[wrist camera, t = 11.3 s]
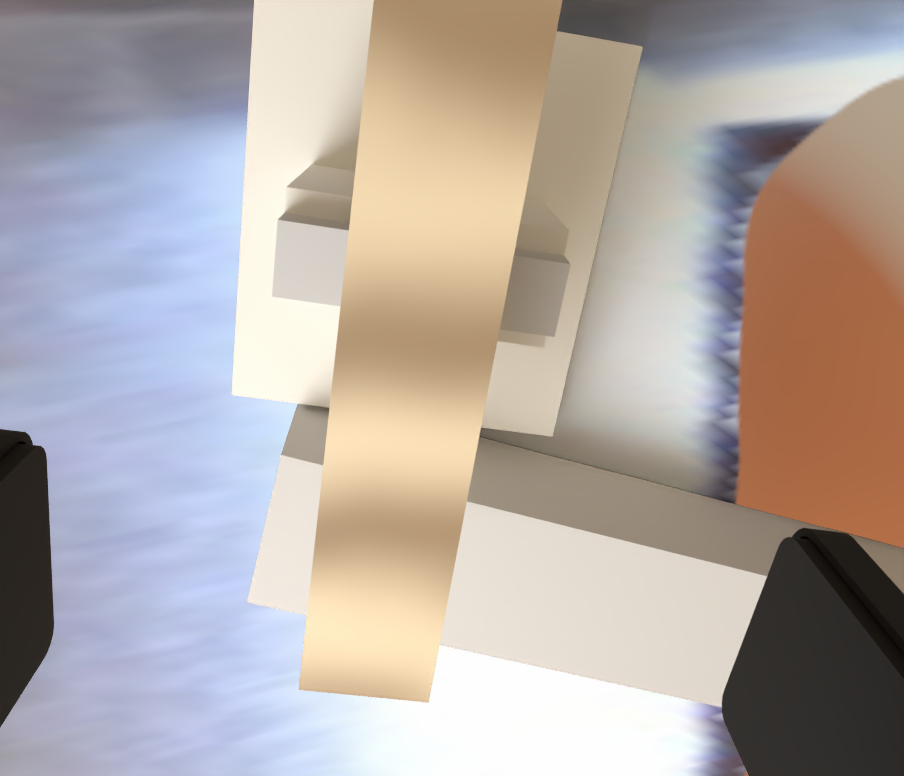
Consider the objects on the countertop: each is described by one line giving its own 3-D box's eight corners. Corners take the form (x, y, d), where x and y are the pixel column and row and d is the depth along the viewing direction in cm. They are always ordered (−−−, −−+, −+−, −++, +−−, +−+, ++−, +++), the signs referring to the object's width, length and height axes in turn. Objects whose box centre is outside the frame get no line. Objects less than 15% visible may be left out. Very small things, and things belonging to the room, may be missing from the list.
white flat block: (845, 662, 46) (960, 556, 40) (876, 741, 42) (1009, 636, 36) (270, 526, 41) (304, 382, 35) (247, 602, 37) (281, 454, 31)
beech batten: (409, -199, 19) (404, -281, 15) (565, -167, 20) (607, -238, 15) (319, 588, 28) (298, 689, 24) (427, 600, 29) (428, 702, 24)
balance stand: (263, -19, 29) (201, -52, 21) (632, 47, 30) (710, 40, 22) (239, 381, 35) (183, 477, 26) (547, 422, 36) (583, 526, 28)
